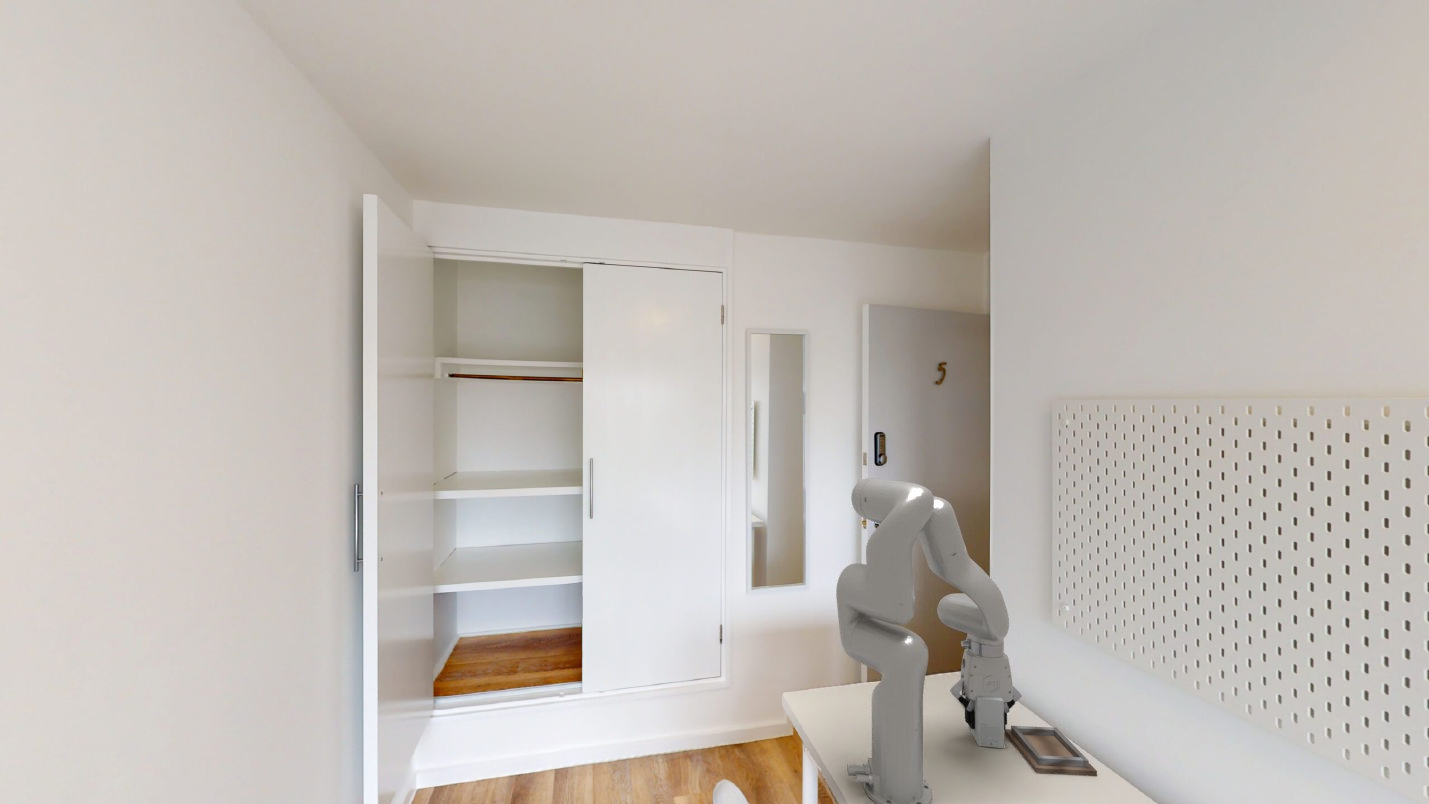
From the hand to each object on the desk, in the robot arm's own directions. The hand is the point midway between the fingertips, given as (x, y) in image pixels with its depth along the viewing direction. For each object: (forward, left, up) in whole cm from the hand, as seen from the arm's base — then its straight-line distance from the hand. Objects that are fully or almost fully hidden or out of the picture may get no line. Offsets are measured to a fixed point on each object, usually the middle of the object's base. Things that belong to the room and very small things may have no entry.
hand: (985, 725), depth 125 cm
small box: (0, 0, -3) cm, 3 cm away
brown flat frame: (+11, -5, -3) cm, 12 cm away
